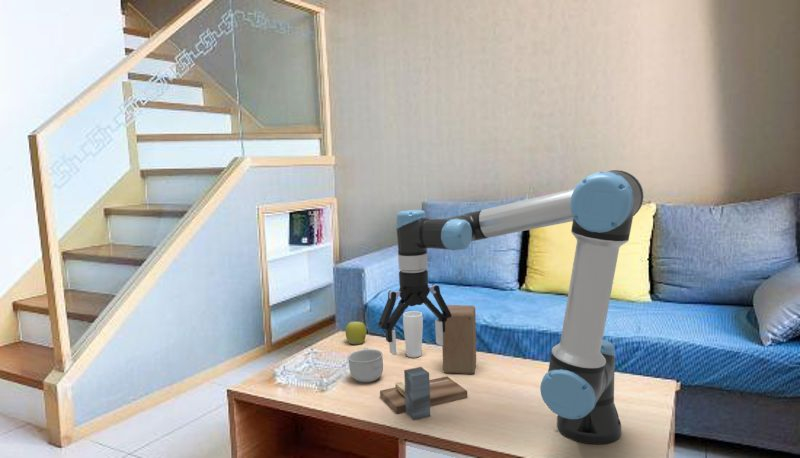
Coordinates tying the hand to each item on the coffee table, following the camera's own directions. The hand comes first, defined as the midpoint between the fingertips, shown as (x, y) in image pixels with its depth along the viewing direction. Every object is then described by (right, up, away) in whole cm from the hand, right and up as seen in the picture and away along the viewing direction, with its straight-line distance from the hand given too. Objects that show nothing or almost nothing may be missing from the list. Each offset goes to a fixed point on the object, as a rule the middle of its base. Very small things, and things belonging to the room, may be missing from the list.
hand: (416, 348), depth 148 cm
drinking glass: (0, -13, +47) cm, 48 cm away
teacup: (-15, -15, +29) cm, 36 cm away
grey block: (-2, -18, +7) cm, 19 cm away
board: (+2, -17, +13) cm, 21 cm away
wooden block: (+15, -14, +34) cm, 39 cm away
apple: (-21, -11, +63) cm, 67 cm away
